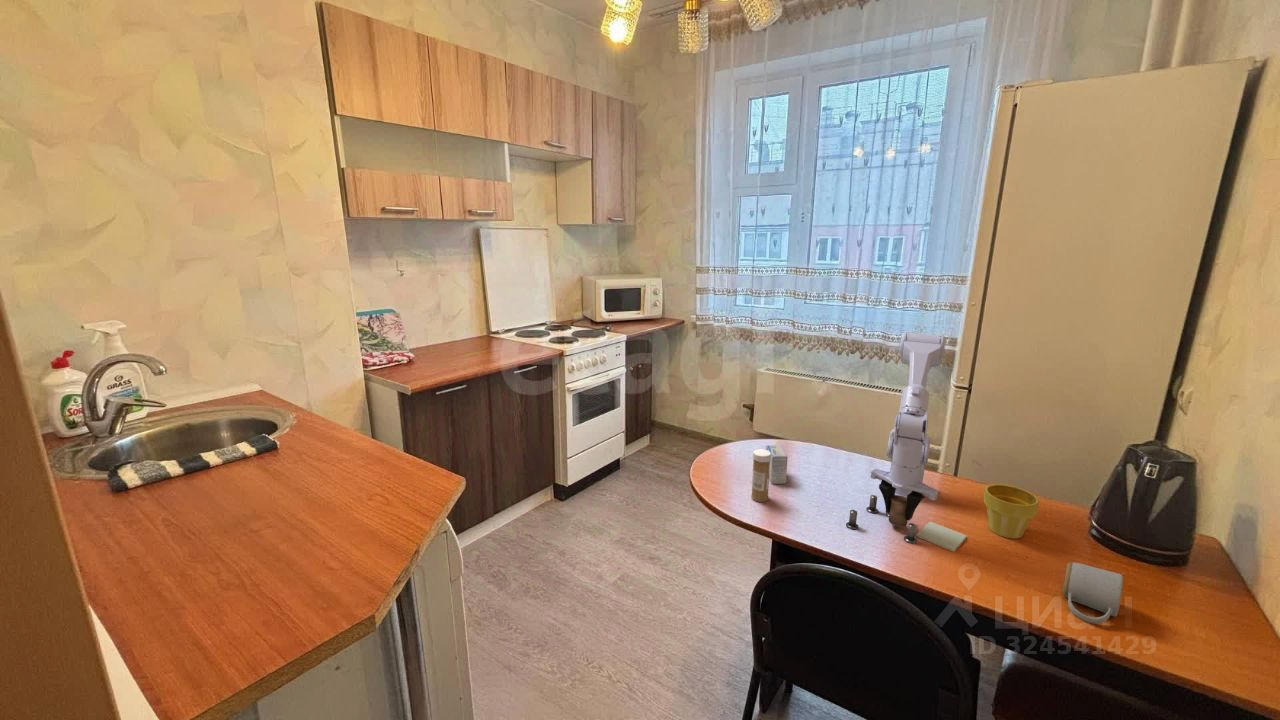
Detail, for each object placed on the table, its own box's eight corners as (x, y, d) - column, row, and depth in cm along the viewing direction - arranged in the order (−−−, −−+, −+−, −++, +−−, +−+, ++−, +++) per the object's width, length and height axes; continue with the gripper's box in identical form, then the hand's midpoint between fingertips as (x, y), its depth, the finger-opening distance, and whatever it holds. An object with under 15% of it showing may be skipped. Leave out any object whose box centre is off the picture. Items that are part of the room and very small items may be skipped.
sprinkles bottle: (771, 499, 136) (774, 453, 133) (759, 504, 134) (762, 457, 130) (759, 492, 140) (761, 447, 136) (747, 497, 137) (749, 451, 134)
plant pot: (968, 520, 126) (974, 484, 123) (1007, 517, 127) (1014, 482, 124) (1001, 545, 116) (1008, 506, 113) (1043, 542, 117) (1051, 504, 114)
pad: (929, 523, 124) (930, 521, 124) (966, 537, 119) (966, 535, 118) (916, 536, 119) (916, 534, 119) (954, 551, 113) (954, 549, 113)
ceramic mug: (1061, 583, 103) (1069, 551, 101) (1116, 602, 98) (1125, 568, 96) (1057, 613, 96) (1065, 578, 94) (1116, 635, 90) (1126, 599, 88)
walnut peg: (892, 515, 125) (895, 493, 124) (910, 522, 122) (913, 500, 121) (885, 521, 123) (888, 499, 121) (902, 528, 120) (906, 506, 118)
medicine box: (786, 484, 144) (788, 456, 142) (770, 484, 144) (772, 456, 142) (779, 471, 152) (781, 444, 149) (764, 471, 152) (765, 444, 149)
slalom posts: (872, 504, 133) (873, 490, 132) (931, 528, 122) (934, 513, 121) (843, 526, 124) (845, 511, 123) (905, 553, 113) (908, 537, 112)
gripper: (867, 457, 121) (861, 508, 125) (932, 479, 111) (924, 534, 114) (880, 449, 126) (874, 498, 129) (944, 469, 115) (936, 522, 119)
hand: (898, 514), depth 122 cm, fingers closed on walnut peg, 4 cm apart
